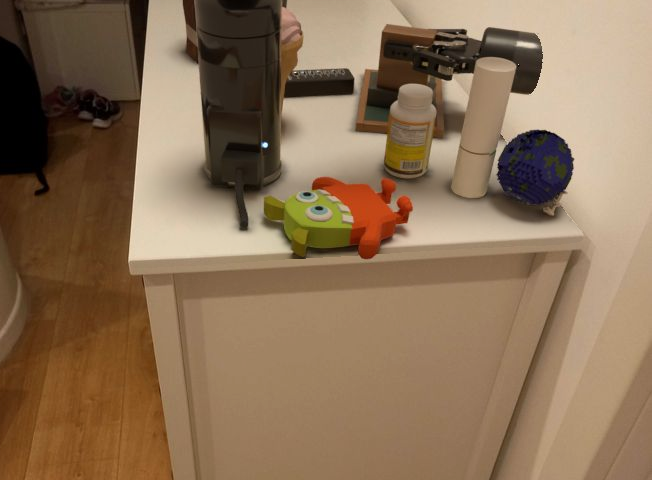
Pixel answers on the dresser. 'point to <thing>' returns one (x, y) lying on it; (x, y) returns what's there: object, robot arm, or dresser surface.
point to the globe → (536, 168)
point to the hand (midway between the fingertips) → (387, 44)
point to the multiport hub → (319, 82)
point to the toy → (339, 215)
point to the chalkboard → (379, 117)
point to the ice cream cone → (289, 46)
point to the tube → (482, 125)
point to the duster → (398, 67)
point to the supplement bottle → (410, 132)
